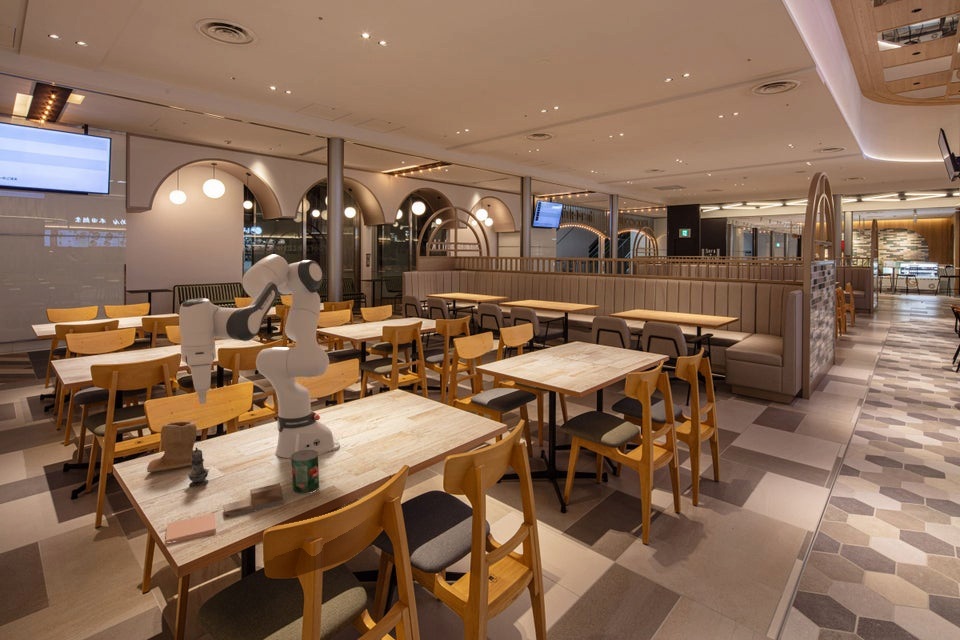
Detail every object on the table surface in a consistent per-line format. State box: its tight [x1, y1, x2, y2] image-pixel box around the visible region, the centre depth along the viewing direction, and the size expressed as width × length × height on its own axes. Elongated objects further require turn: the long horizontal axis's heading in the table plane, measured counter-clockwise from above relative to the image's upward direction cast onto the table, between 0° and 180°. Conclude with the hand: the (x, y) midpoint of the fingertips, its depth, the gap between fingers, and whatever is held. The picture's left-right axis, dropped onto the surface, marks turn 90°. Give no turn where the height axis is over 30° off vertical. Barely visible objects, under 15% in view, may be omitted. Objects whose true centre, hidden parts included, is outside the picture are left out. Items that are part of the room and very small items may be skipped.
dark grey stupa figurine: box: [187, 447, 210, 488], centre depth 153 cm, size 6×6×12 cm
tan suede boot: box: [146, 420, 197, 473], centre depth 166 cm, size 15×12×15 cm
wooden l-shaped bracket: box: [222, 483, 283, 516], centre depth 140 cm, size 15×4×4 cm, turn 123°
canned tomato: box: [290, 450, 320, 495], centre depth 151 cm, size 8×8×11 cm
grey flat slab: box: [228, 499, 284, 518], centre depth 141 cm, size 14×6×1 cm, turn 123°
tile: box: [165, 512, 217, 543], centre depth 128 cm, size 2×9×11 cm
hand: (201, 399), depth 146 cm, fingers open, 8 cm apart
